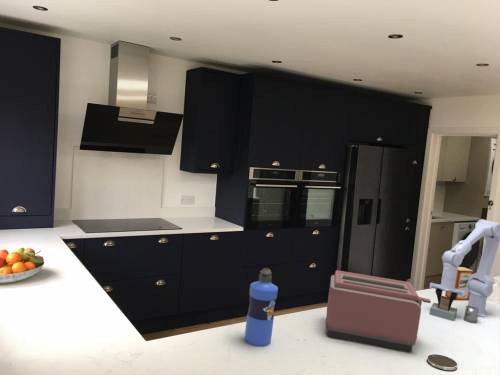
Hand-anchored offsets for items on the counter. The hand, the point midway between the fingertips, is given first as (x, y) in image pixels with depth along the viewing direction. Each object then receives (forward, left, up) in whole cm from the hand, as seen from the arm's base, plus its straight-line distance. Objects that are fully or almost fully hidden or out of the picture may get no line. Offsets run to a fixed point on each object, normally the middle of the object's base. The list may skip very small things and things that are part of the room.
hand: (444, 307), depth 195 cm
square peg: (0, 0, -2) cm, 2 cm away
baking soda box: (-35, +2, -4) cm, 35 cm away
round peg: (-2, +11, -4) cm, 12 cm away
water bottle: (+86, -47, -4) cm, 98 cm away
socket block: (0, 0, -4) cm, 4 cm away
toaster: (+50, -18, -4) cm, 53 cm away
